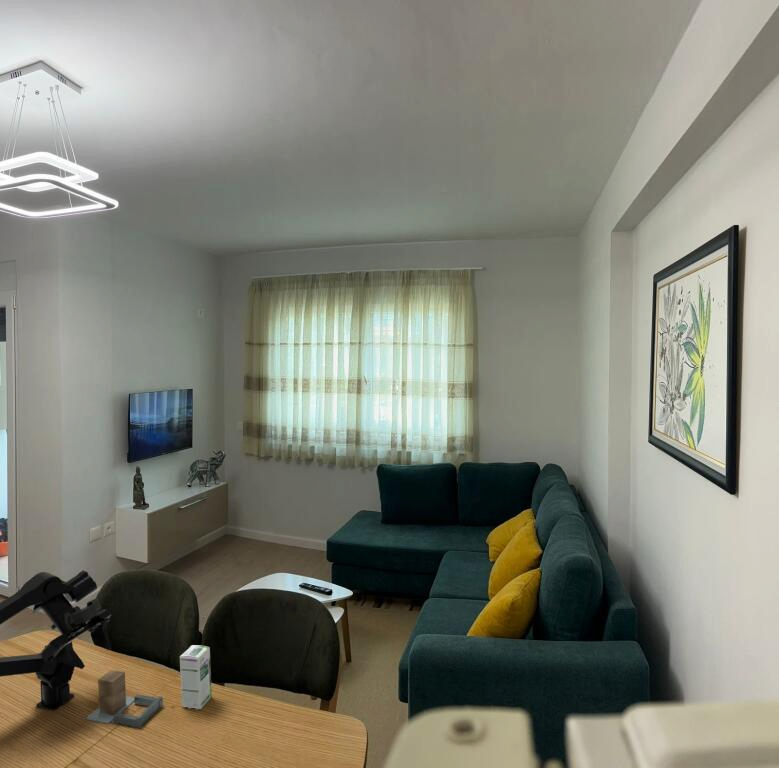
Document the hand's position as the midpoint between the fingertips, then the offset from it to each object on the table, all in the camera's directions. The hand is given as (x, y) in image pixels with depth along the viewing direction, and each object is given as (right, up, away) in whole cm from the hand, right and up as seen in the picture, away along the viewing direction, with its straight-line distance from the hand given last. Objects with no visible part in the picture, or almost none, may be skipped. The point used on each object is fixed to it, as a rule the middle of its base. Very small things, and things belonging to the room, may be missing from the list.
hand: (97, 658), depth 144 cm
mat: (+4, -14, 0) cm, 14 cm away
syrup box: (+26, -13, +2) cm, 29 cm away
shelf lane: (+12, -14, -2) cm, 19 cm away
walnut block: (+4, -13, 0) cm, 14 cm away
